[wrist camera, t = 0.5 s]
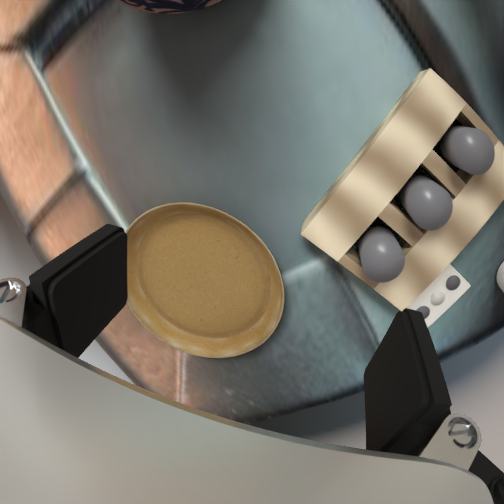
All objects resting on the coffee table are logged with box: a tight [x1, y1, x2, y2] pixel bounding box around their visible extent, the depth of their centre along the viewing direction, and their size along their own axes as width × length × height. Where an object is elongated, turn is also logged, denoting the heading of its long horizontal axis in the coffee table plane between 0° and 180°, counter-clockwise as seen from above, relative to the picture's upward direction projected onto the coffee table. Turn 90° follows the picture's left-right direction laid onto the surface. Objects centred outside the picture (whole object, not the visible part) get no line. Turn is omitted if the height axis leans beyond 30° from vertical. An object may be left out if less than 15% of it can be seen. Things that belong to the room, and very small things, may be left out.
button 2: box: [440, 125, 495, 175], centre depth 26 cm, size 5×5×5 cm
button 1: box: [358, 225, 405, 283], centre depth 33 cm, size 5×5×5 cm
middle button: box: [400, 175, 453, 230], centre depth 29 cm, size 5×5×5 cm
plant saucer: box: [125, 203, 285, 358], centre depth 43 cm, size 24×24×3 cm
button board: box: [301, 68, 504, 311], centre depth 31 cm, size 23×16×4 cm
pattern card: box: [406, 264, 471, 328], centre depth 38 cm, size 9×6×1 cm, turn 147°
